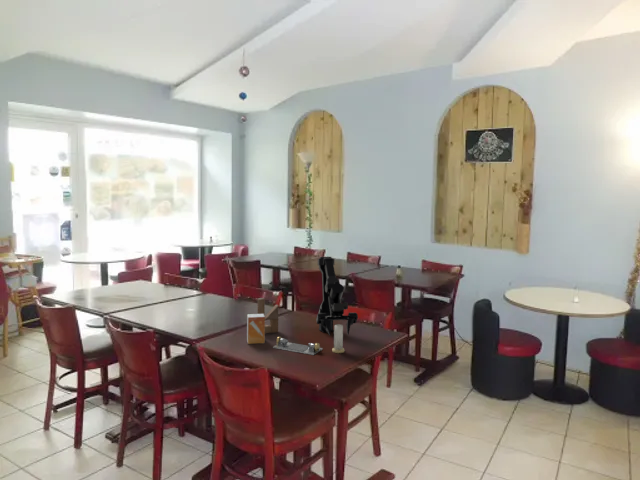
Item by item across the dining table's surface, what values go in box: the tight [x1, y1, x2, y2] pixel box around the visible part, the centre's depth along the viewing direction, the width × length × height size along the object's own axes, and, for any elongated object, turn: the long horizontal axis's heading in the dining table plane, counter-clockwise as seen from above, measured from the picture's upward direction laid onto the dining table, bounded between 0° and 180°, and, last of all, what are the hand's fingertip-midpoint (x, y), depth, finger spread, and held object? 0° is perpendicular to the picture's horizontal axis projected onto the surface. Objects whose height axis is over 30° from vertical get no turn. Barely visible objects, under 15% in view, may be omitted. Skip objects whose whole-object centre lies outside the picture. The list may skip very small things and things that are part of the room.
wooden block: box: [256, 297, 279, 334], centre depth 241 cm, size 4×11×18 cm, turn 113°
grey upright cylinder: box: [331, 323, 345, 354], centre depth 214 cm, size 6×6×12 cm
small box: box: [246, 313, 266, 345], centre depth 226 cm, size 8×6×13 cm
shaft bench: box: [272, 336, 323, 356], centre depth 217 cm, size 21×9×4 cm, turn 64°
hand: (339, 334), depth 212 cm, fingers open, 8 cm apart
